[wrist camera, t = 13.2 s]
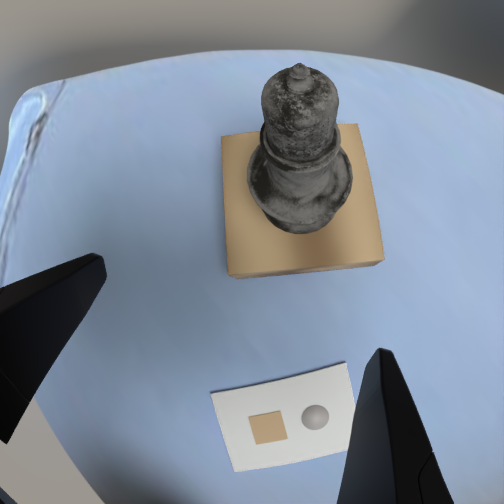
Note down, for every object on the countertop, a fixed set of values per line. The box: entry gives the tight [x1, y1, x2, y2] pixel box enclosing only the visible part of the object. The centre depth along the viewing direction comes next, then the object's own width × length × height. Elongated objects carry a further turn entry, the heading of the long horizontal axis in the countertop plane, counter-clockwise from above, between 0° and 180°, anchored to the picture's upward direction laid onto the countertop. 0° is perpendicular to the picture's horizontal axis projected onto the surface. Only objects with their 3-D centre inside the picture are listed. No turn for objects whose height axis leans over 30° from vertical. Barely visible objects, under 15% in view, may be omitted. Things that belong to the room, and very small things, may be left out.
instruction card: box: [211, 362, 356, 472], centre depth 20 cm, size 10×7×1 cm
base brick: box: [221, 124, 385, 279], centre depth 21 cm, size 10×10×3 cm
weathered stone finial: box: [247, 63, 353, 234], centre depth 14 cm, size 6×6×12 cm
